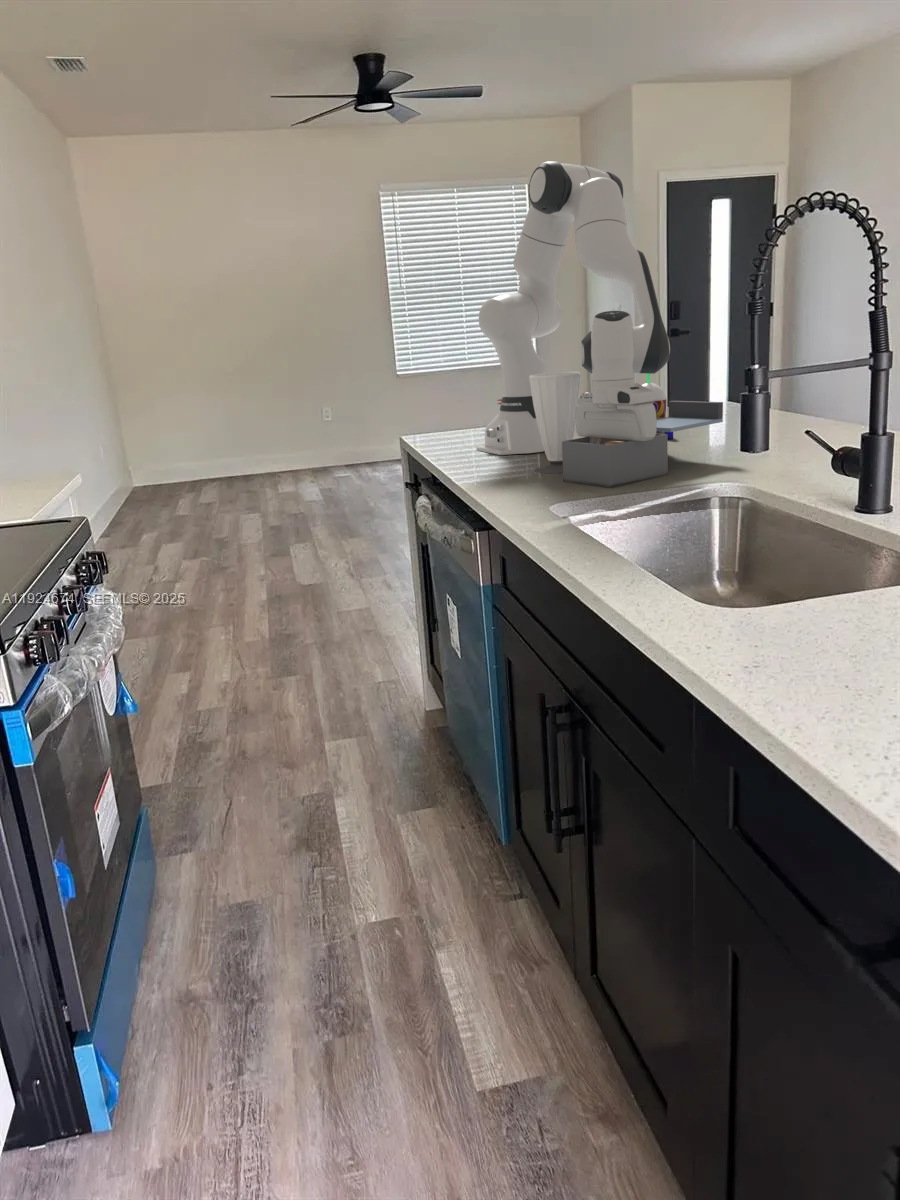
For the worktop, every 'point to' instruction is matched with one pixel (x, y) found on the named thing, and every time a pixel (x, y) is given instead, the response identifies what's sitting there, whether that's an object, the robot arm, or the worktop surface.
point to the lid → (690, 415)
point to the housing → (614, 461)
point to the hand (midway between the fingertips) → (614, 459)
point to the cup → (555, 413)
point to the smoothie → (657, 400)
